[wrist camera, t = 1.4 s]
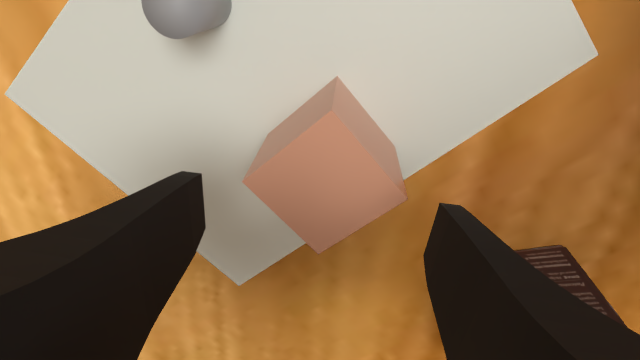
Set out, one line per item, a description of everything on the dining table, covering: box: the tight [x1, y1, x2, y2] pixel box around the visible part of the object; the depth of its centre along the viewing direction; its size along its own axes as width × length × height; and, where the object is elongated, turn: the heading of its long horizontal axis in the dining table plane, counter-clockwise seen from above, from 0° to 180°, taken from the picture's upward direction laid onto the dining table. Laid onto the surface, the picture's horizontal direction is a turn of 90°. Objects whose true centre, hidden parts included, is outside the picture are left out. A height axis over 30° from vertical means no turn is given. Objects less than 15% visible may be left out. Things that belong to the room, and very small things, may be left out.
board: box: [5, 0, 599, 286], centre depth 15 cm, size 16×22×5 cm
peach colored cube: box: [242, 76, 408, 254], centre depth 16 cm, size 4×4×5 cm
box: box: [515, 245, 628, 328], centre depth 20 cm, size 6×6×7 cm
